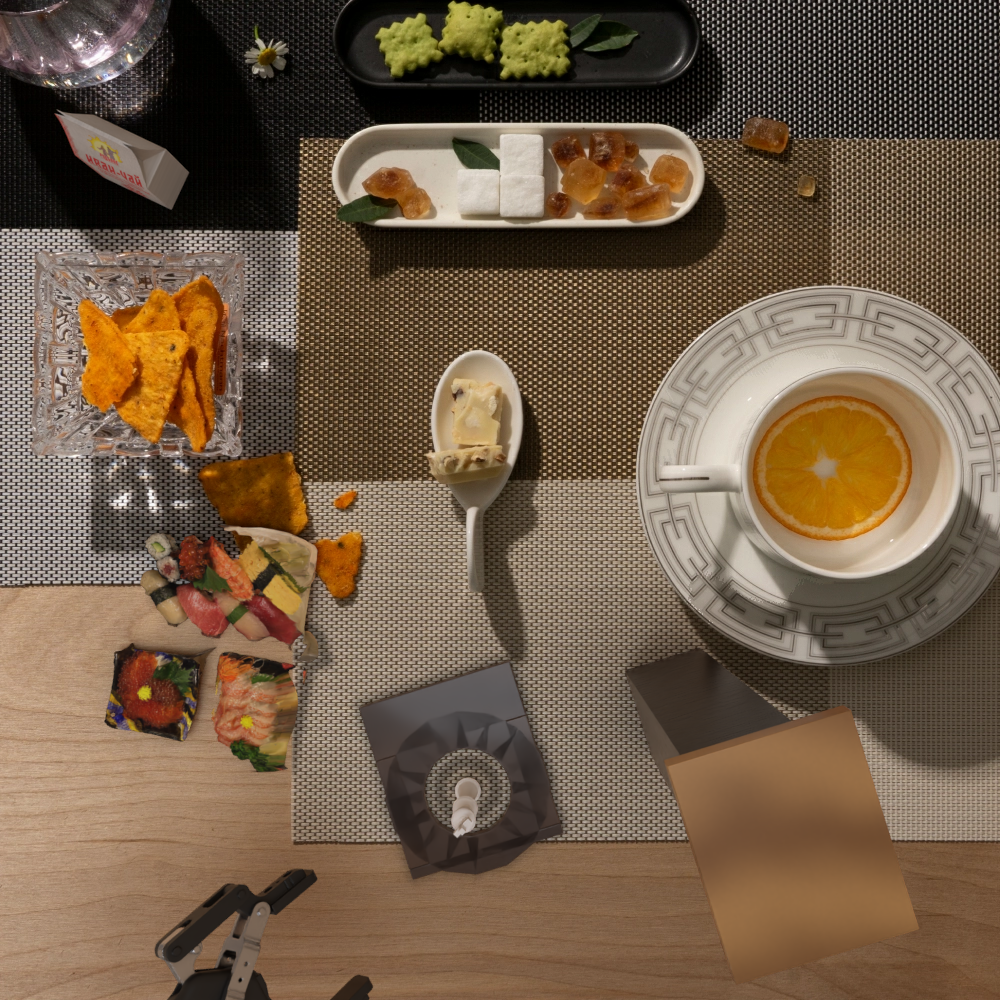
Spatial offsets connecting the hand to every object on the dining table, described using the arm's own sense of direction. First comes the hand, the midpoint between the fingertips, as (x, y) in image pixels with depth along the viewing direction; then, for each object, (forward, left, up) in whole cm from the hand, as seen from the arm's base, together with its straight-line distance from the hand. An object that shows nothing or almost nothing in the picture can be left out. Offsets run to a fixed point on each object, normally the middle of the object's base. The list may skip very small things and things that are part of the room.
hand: (338, 926), depth 56 cm
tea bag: (+63, +2, -16) cm, 65 cm away
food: (+21, +8, -16) cm, 27 cm away
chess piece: (+2, -9, -16) cm, 18 cm away
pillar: (+4, -29, -15) cm, 33 cm away
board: (+4, -9, -15) cm, 18 cm away
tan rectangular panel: (+4, -29, +14) cm, 33 cm away
